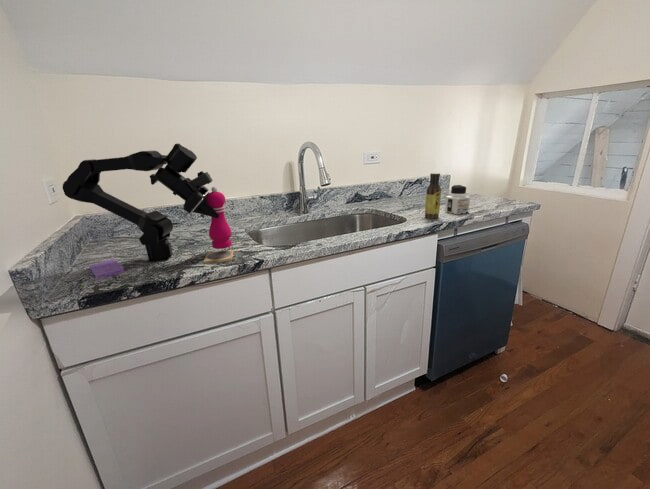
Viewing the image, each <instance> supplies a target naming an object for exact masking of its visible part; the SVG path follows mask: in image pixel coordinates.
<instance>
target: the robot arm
mask: <svg viewBox="0 0 650 489" xmlns="http://www.w3.org/2000/svg"><path fill="white" fill-rule="evenodd" d="M197 159H198V156H197V155H196V154H195V153H194V152H193V151H192V150H191V149H188V148H187V147H185V146H183V145H181V144H180V143H175V144H174V145H172V148H171V150H170V151H169V153H167V155H165V154H161V153H160V152H159V151H157V150H139V151H138V152H135V153H131V154H129V155H126V156H123V157H122V156H120V157H112V158H110V157H109V158H101V159H95V158H93V159H85V160H82V161H80V163H79V164H78V167H77V168H76V169H75V170H73V172H72V173H70V175H68V176H67V179H66V180H65V181H63V183H62V192H63V194H64V196H65V197H67V198H69V199H72V200H75V201H78V202H82V203H89V204H94V205H96V206H98V207H99V208H102V209H104V210H106V211H108V212H110V213H112V214H113V215H116V216H117V217H120V218H122V219H124V220H126V221H129V222H130V223H132V224H134V225H136V226H137V228H138V229H139V230H140V231H141V232H142V234H141V236H140V237H139V238H138V240H139V242H140V244H141V245H142V246H145V250H146V254H147V260H146V263H153V262H163V261H164V262H165V261H169V259H171V257H172V256H173V254H174V253H173V248H172V243H171V242H170V241H169V238H170V236H171V233H172V231H173V229H174V224H173V222H172V220H171V219H170V218H169V217H168V215H166V214H162V213H161V212H160V211H157V210H153V211H151V212H145V211H143V210H141V209H140V208H138V207H135V206H133V205H131V204H130V203H127V202H125V201H124V200H121V199H119V198H118V197H115V196H114V195H112V194H109V193H107V192H105V191H104V190H103V188H102V186H101V185H99V183H100V181H101V180H100V179H101V173H103V172H112V171H113V172H115V171H122V170H124V171H125V170H133V171H139V172H151V171H156V172H155V173H151V174H150V175H149V178H150V184H151V185H155V184H157V183H158V182H159V183H160V184H162V185H163V186H164V187H165V188H167V189H168V190H169V191H171V192H172V194H173V195H174V196H176V195H177V196H178V197H179V198H181V199H182V200H183V201H184V204H183V210H184V211H186V212H187V214H190V213H191V212H192V213H196V214H200V215H204V216H207V217H214V218H218V217H219V215H218V214H217V212H216V211H215V210H214V209H213V208H212V207H211V206H210V205H209V204H208V203H207V198H206V196H207V195H208V194H209V193H210V192H209V188H208V187H206V186H205V185H209V184H210V183H212V182H213V181H214V180H213V179H212V177H211V175H210V173H209V172H208V171H206V172H204V171H203V170H201V171H199V172H197V177H195V178H193V179H191V178H189V177H185V176H183V175H182V174H181V173H186V172H188V170H189V169H190V168H191V167H192V166H193V164H194V163H195V162H196V160H197ZM164 165H165V166H164Z"/></svg>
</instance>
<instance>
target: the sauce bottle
mask: <svg viewBox="0 0 650 489" xmlns="http://www.w3.org/2000/svg"><path fill="white" fill-rule="evenodd" d="M429 176H430V182H429V184H428V186H427V188H426V194H425V207H424V217H425V218H428V219H436V218H439V214H440V208H441V196H442V188H441V186H440V177H441V173H439V172H431V173H430V175H429Z"/></svg>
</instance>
